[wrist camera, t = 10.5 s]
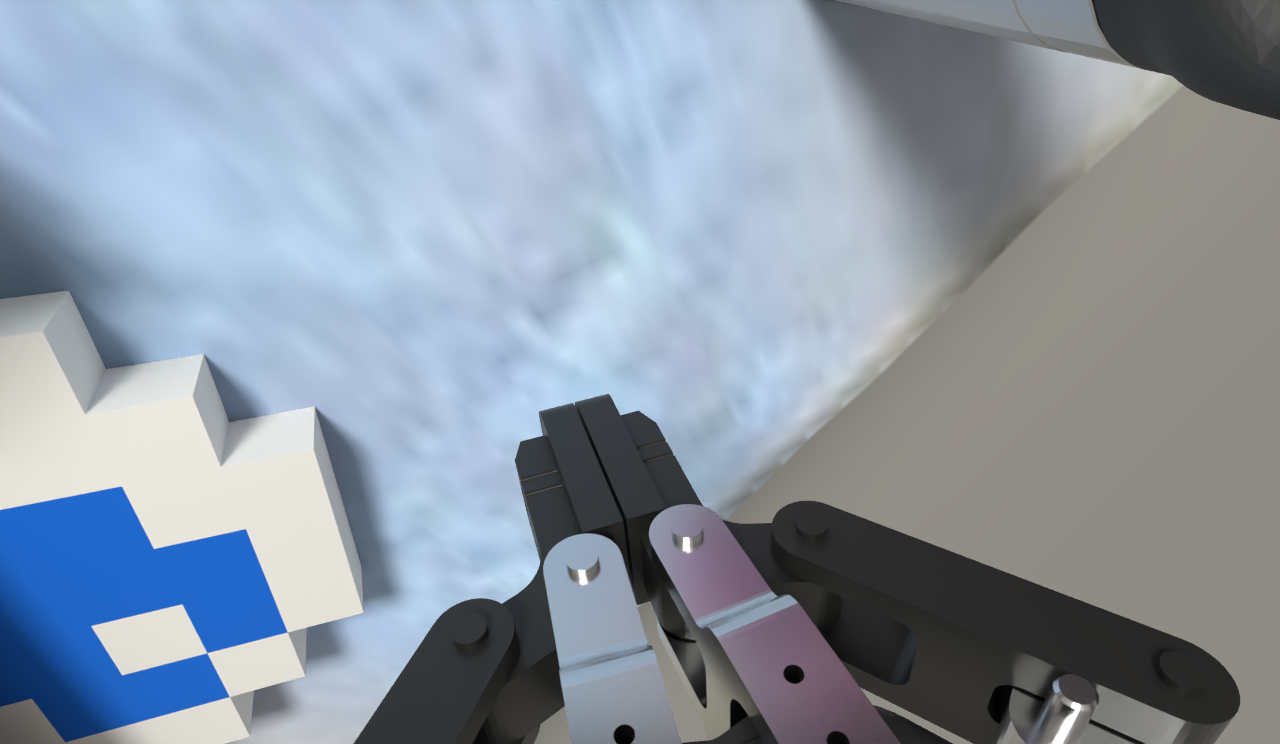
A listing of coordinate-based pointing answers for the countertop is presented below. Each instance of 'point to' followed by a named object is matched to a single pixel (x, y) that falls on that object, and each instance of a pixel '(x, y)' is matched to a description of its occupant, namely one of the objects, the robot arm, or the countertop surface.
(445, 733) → the robot arm
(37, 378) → the pixel art tile
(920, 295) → the countertop surface
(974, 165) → the countertop surface
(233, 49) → the countertop surface
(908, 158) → the countertop surface
